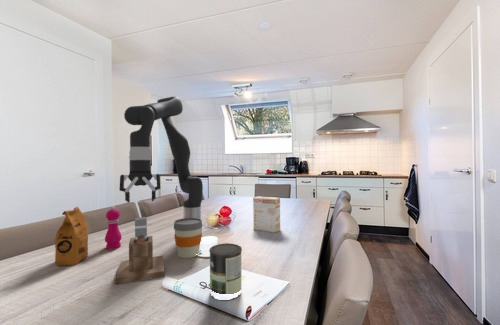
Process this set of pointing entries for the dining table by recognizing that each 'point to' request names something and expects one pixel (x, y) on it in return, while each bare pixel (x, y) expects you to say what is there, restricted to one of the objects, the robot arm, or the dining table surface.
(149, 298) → the dining table surface
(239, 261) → the coffee can
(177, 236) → the reusable coffee cup
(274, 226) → the coffeecake box
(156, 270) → the stand
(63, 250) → the coffee package
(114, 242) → the pepper mill
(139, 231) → the column
